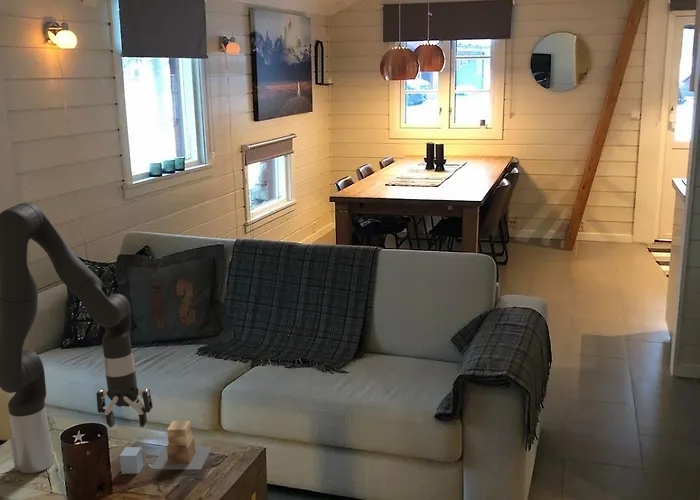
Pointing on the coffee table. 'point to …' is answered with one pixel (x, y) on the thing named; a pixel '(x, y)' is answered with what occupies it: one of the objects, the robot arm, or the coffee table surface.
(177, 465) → the felt mat
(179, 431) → the oak top block
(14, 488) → the coffee table surface
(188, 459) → the walnut base block
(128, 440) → the coffee table surface
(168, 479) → the coffee table surface
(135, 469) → the light grey box block
